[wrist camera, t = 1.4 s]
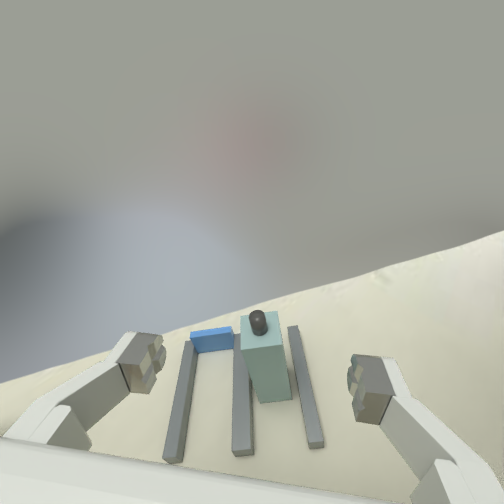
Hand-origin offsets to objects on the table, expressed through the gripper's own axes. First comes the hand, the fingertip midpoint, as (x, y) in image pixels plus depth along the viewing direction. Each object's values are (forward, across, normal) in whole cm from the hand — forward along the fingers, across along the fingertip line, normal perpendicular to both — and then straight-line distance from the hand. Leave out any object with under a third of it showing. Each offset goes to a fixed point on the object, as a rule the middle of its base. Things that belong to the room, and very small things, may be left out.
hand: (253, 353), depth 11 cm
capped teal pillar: (+13, -1, +22) cm, 25 cm away
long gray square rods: (+12, +3, +22) cm, 26 cm away
